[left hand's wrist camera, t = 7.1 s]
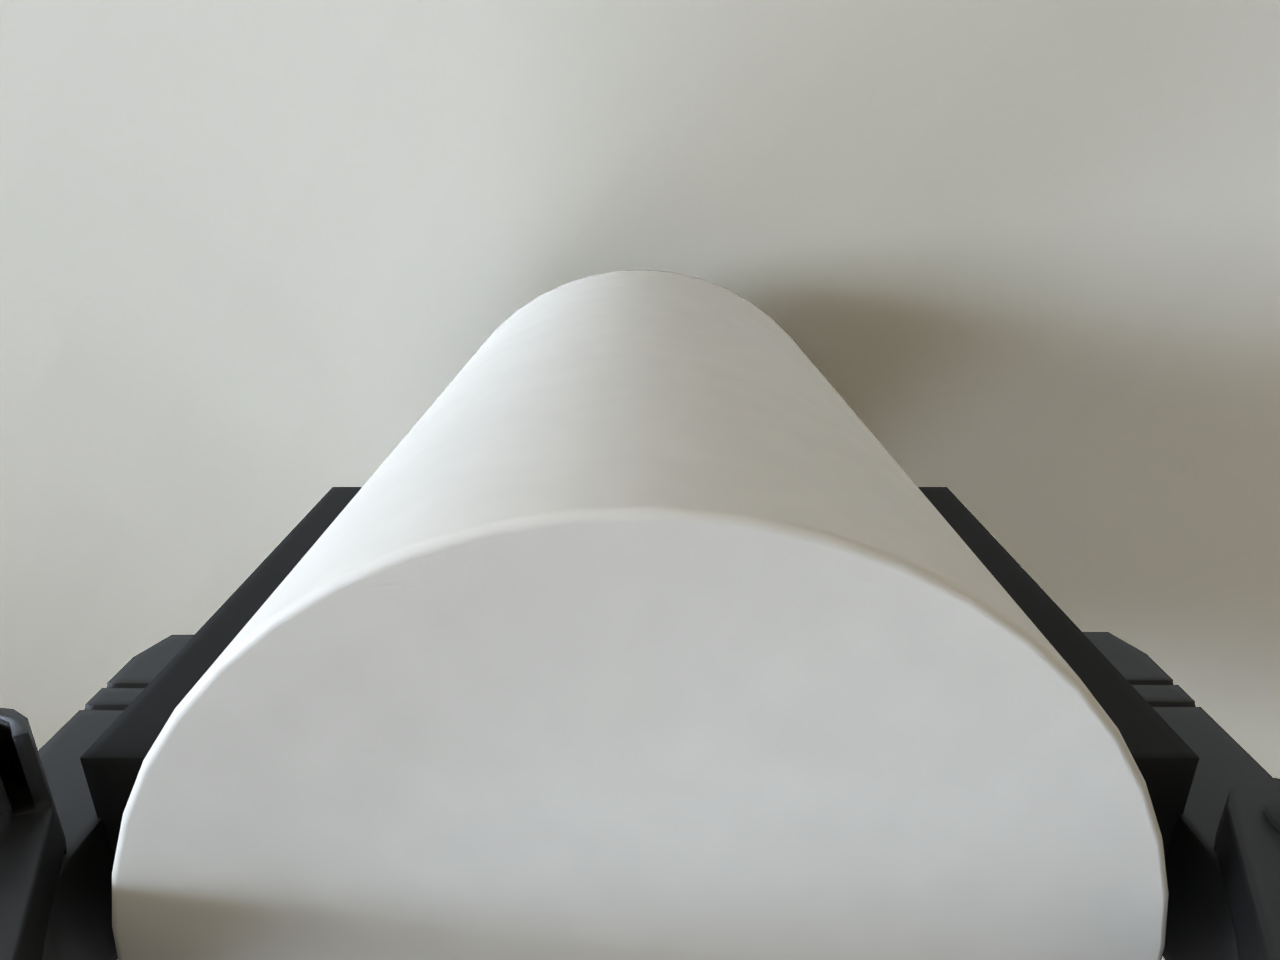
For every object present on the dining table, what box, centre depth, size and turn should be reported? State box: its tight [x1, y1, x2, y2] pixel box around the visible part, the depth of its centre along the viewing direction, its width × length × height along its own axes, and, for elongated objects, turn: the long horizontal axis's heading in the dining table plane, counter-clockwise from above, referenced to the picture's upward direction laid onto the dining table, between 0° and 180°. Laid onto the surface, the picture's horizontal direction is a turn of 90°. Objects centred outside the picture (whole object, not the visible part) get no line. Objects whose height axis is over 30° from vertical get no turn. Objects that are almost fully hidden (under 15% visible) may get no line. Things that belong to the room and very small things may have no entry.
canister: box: [112, 270, 1169, 960], centre depth 12 cm, size 8×8×12 cm
